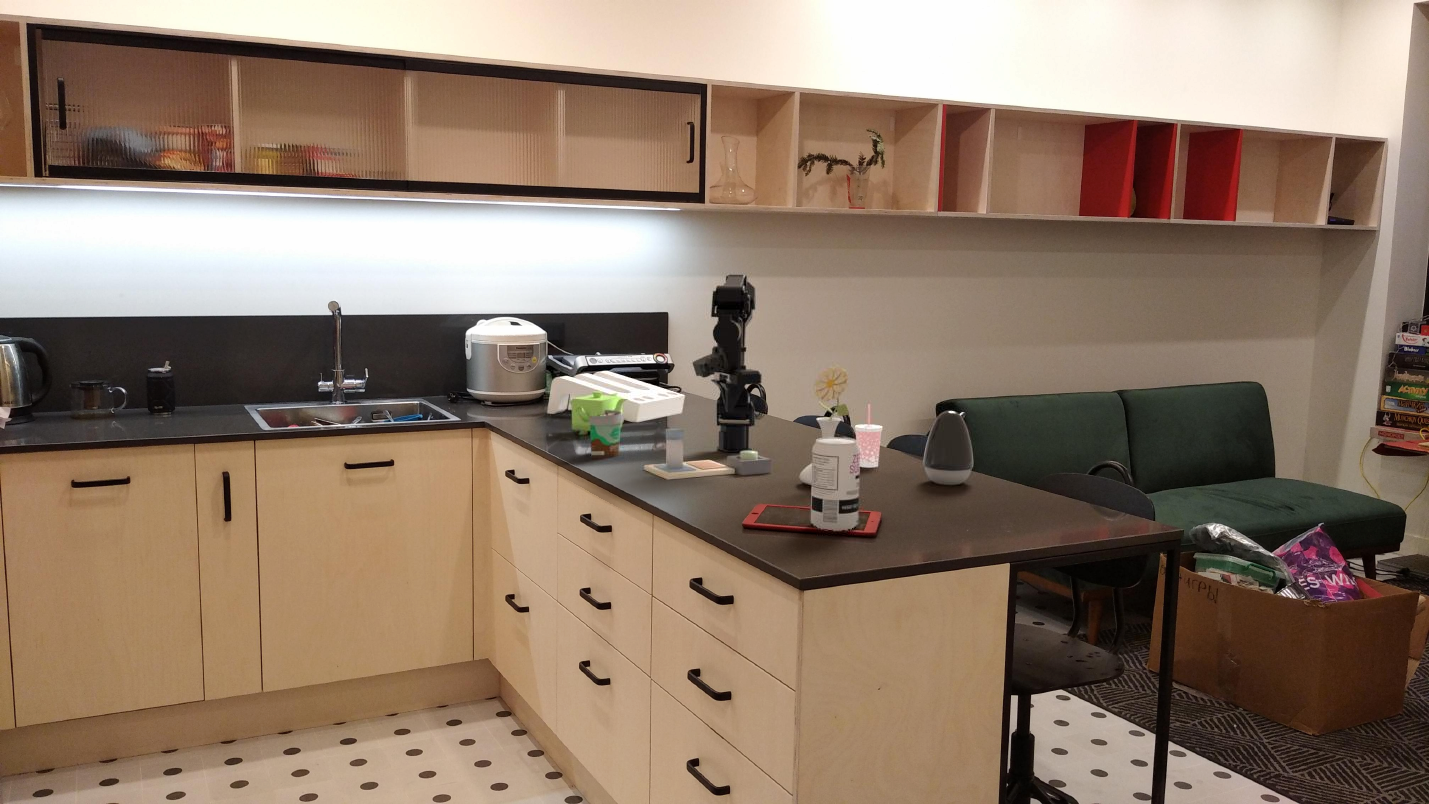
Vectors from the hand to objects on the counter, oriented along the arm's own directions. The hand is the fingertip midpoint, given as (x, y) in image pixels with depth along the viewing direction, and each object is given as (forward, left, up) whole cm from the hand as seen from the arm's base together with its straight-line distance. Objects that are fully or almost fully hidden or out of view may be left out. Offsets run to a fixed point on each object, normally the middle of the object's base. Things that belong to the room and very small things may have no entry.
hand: (729, 411), depth 244 cm
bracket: (-9, -88, -13) cm, 89 cm away
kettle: (+10, -53, -12) cm, 55 cm away
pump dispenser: (-32, +38, -12) cm, 51 cm away
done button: (0, +10, -11) cm, 15 cm away
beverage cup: (-28, +15, -12) cm, 34 cm away
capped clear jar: (+16, +5, -11) cm, 20 cm away
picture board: (+12, +5, -12) cm, 18 cm away
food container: (+20, -21, -12) cm, 32 cm away
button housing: (0, +10, -12) cm, 15 cm away
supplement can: (+11, +60, -12) cm, 62 cm away
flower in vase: (-7, +31, -12) cm, 34 cm away
